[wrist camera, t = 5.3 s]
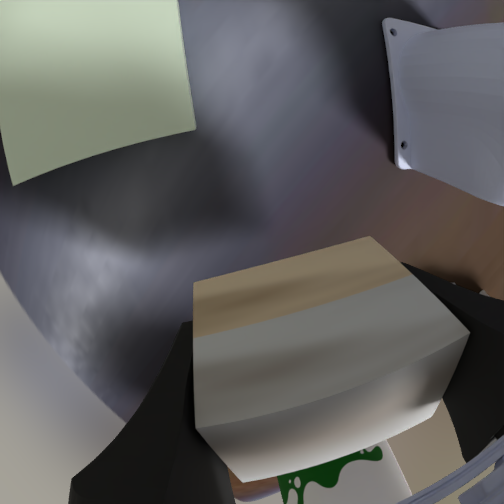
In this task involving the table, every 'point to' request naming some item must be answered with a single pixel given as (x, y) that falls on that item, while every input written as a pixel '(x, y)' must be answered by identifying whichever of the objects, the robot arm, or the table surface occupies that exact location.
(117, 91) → the stand
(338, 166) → the table surface
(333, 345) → the cream layered block
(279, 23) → the table surface
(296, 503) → the milk carton
